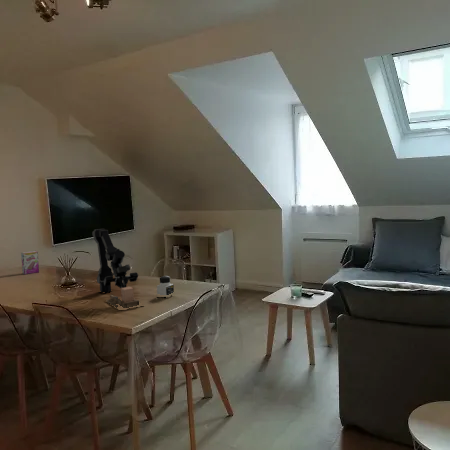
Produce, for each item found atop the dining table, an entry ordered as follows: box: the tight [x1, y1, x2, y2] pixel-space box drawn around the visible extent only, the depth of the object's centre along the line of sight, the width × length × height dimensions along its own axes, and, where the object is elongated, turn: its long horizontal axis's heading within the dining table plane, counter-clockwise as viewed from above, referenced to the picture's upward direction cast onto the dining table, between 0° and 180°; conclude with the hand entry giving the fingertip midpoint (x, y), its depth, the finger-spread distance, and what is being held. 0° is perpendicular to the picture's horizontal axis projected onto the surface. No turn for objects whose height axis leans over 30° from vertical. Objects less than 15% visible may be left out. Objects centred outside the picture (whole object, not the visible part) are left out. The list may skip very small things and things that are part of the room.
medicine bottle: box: [156, 275, 175, 295], centre depth 268 cm, size 7×7×12 cm
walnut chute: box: [105, 294, 140, 309], centre depth 256 cm, size 24×14×4 cm, turn 32°
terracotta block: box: [120, 286, 135, 303], centre depth 251 cm, size 5×5×9 cm
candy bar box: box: [20, 250, 40, 275], centre depth 349 cm, size 11×5×16 cm, turn 130°
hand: (125, 291), depth 253 cm, fingers closed
